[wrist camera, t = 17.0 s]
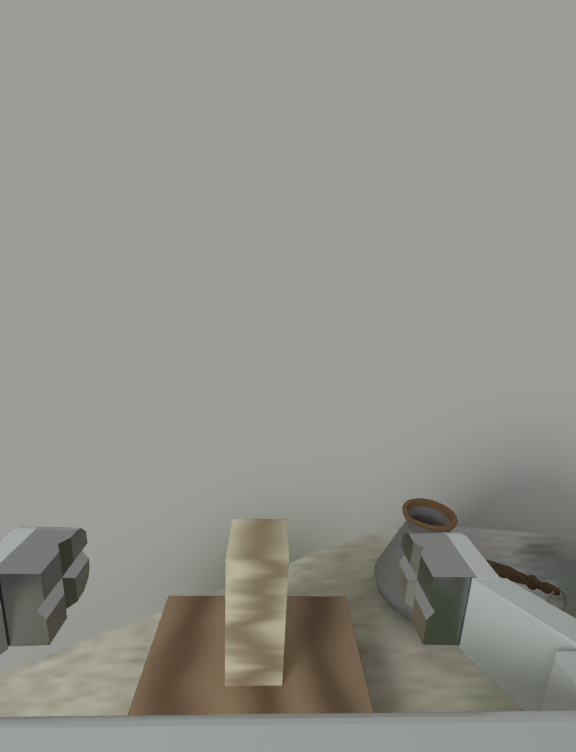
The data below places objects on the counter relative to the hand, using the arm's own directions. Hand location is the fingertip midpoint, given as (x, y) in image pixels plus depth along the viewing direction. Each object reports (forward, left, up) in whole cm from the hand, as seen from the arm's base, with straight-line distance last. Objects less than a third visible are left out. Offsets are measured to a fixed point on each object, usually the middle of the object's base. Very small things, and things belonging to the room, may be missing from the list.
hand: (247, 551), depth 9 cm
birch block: (0, +19, -27) cm, 33 cm away
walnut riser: (0, +19, -32) cm, 37 cm away
